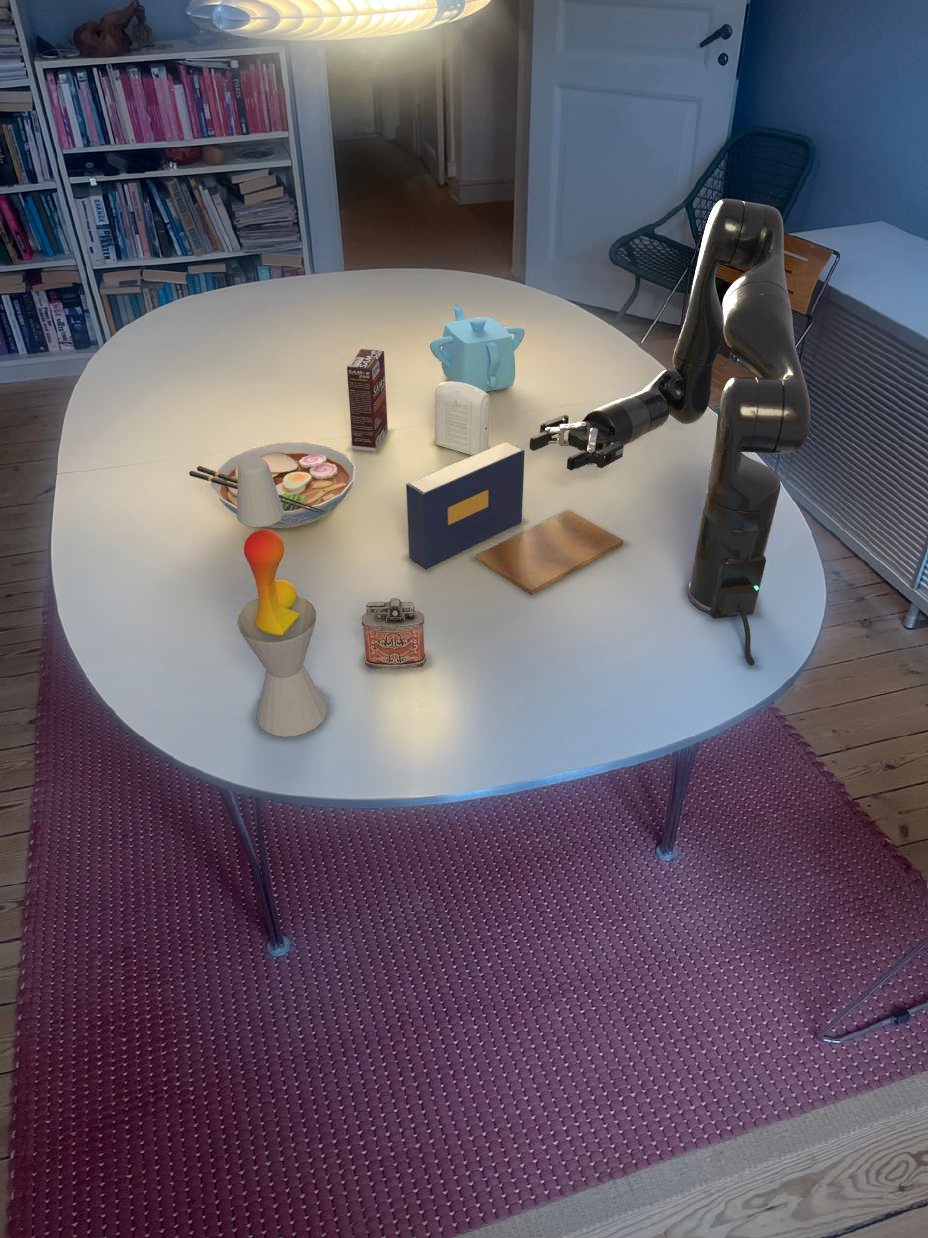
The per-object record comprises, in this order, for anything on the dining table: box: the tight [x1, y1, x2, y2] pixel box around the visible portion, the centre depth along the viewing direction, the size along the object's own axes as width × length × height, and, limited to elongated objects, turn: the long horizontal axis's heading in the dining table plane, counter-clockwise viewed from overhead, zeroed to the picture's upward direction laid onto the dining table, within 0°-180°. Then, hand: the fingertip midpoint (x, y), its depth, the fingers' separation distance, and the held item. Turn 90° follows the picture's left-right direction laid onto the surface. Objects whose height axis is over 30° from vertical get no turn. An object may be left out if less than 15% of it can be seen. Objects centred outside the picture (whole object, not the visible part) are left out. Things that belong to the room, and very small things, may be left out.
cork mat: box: [476, 509, 624, 595], centre depth 146 cm, size 20×12×1 cm, turn 131°
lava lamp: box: [236, 457, 327, 738], centre depth 108 cm, size 9×9×35 cm
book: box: [405, 441, 526, 570], centre depth 145 cm, size 20×4×13 cm, turn 131°
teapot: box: [429, 304, 526, 392], centre depth 191 cm, size 18×16×14 cm
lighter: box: [360, 597, 427, 671], centre depth 123 cm, size 8×3×10 cm, turn 92°
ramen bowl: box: [188, 441, 357, 529], centre depth 153 cm, size 25×23×8 cm
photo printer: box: [434, 380, 491, 456], centre depth 169 cm, size 10×4×12 cm, turn 60°
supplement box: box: [346, 348, 389, 453], centre depth 171 cm, size 9×5×16 cm, turn 168°
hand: (549, 454), depth 153 cm, fingers open, 8 cm apart
